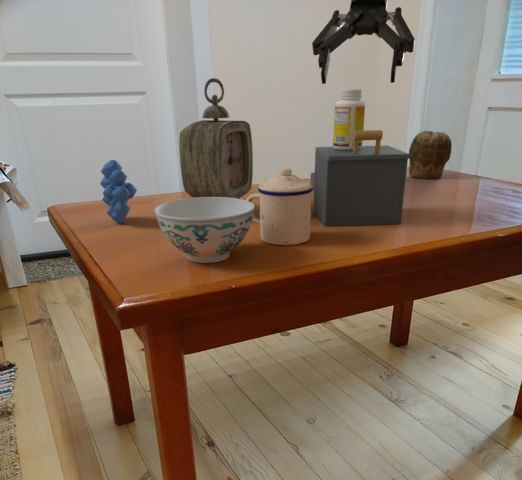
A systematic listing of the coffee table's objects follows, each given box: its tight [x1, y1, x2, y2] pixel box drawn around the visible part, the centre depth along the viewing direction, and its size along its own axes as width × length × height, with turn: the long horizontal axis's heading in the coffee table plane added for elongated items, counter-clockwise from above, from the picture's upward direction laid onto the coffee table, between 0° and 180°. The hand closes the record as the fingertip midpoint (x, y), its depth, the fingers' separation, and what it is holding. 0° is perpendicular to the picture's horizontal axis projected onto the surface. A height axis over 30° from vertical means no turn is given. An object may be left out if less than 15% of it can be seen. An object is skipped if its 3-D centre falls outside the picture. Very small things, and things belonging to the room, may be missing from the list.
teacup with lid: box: [246, 167, 313, 246], centre depth 86 cm, size 12×9×12 cm
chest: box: [312, 151, 409, 227], centre depth 99 cm, size 13×15×12 cm
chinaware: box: [154, 197, 256, 264], centre depth 78 cm, size 15×15×8 cm
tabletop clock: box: [178, 77, 254, 199], centre depth 100 cm, size 14×9×25 cm, turn 155°
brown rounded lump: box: [408, 130, 453, 180], centre depth 139 cm, size 11×11×12 cm
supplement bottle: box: [332, 88, 366, 151], centre depth 94 cm, size 6×6×10 cm
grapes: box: [99, 159, 138, 224], centre depth 98 cm, size 12×7×12 cm, turn 30°
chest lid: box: [314, 129, 410, 161], centre depth 95 cm, size 13×15×5 cm
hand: (357, 77), depth 100 cm, fingers open, 13 cm apart
